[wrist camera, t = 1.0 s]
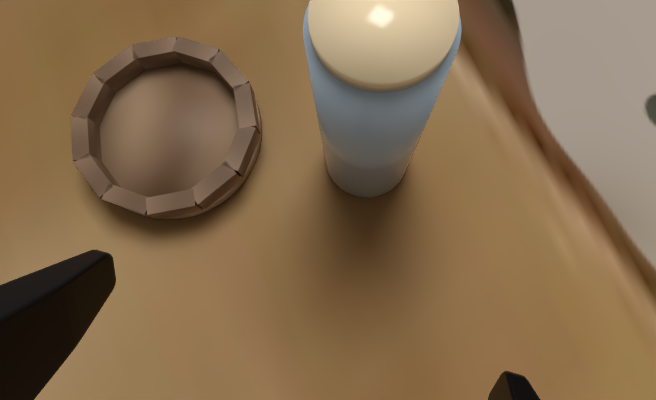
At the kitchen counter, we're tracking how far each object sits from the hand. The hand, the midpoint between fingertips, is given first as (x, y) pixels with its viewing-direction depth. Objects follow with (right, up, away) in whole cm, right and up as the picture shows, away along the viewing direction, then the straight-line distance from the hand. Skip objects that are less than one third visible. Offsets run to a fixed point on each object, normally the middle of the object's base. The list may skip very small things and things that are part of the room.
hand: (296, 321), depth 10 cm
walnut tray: (-8, +7, +16) cm, 19 cm away
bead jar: (+3, +5, +15) cm, 16 cm away
